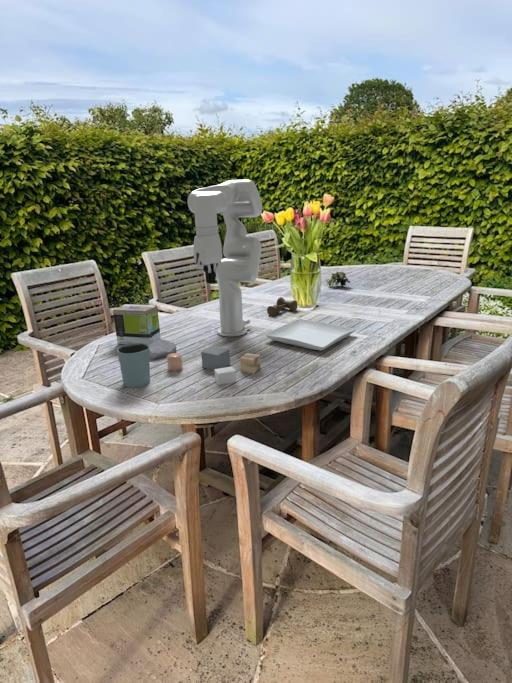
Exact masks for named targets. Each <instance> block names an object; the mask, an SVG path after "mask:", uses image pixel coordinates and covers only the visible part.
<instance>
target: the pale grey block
mask: <svg viewBox="0 0 512 683" xmlns="http://www.w3.org/2000/svg"><path fill="white" fill-rule="evenodd" d="M213 371H214V380H215V382H216V384H217V385H225V384H231V383H237V372H236V369H235V368H234V367H233V366H227V367H225V368H219V369H214V370H213Z"/></svg>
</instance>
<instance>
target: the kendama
mask: <svg viewBox="0 0 512 683" xmlns="http://www.w3.org/2000/svg"><path fill="white" fill-rule="evenodd" d="M285 308H286V309H289V310H290V311H291V312H295V311H296V310H297V309H298V301H297V300H291V301H289V300H288V301H287V300H285V298H284V297H282V296H280V297H278V298H277V300H276V304H273V306H272V305H269V306H267V309H266V311H267V314H268V316H270V317H274V316H276V314H279V313H281V310H283V309H285Z"/></svg>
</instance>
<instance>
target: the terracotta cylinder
mask: <svg viewBox="0 0 512 683" xmlns="http://www.w3.org/2000/svg"><path fill="white" fill-rule="evenodd" d="M182 356H183V355H182V353H179V352H175V353H172V354H169V355H167V356H166V361H167V370H168V371H169V372H172V373H173V372H175V373H176V372H180V371H182V370H183V369H184V368H183V357H182Z"/></svg>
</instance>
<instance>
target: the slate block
mask: <svg viewBox="0 0 512 683" xmlns="http://www.w3.org/2000/svg"><path fill="white" fill-rule="evenodd" d="M200 353H201V365H202V366H201V368H203V369H207V370H211V371H214V369H219V368H225V367H229V366H230V365H231V353H230V348H227V347H221V346H216V345H213V346H212V345H211V346H210V347H208V348H206V349H205V350H202V351H201V352H200Z"/></svg>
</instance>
